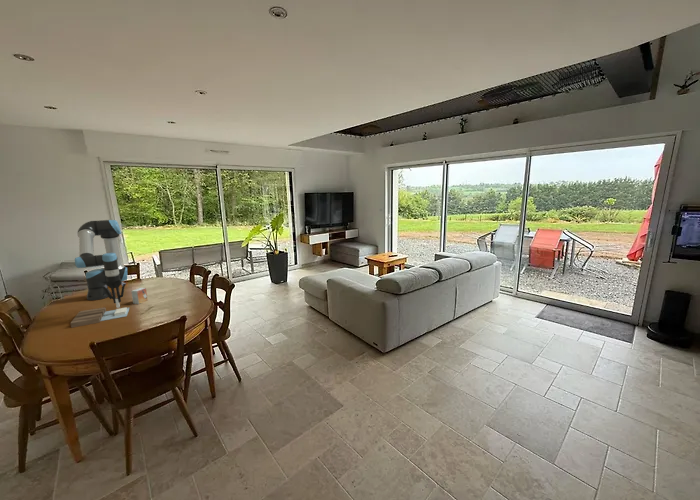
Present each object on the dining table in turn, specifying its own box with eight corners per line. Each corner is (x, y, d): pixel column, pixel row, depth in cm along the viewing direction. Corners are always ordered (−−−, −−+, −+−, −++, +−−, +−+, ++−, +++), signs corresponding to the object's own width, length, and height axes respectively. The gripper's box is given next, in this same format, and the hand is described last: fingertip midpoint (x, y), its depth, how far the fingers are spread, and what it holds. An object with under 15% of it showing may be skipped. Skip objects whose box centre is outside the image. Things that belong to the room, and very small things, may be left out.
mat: (105, 311, 205) (105, 311, 205) (129, 307, 212) (129, 307, 212) (100, 321, 190) (100, 320, 190) (126, 316, 197) (126, 315, 197)
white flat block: (126, 307, 207) (127, 309, 207) (116, 309, 204) (116, 311, 204) (125, 311, 200) (125, 314, 200) (114, 313, 196) (114, 316, 197)
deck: (80, 315, 199) (79, 311, 198) (106, 311, 206) (105, 307, 206) (71, 327, 181) (70, 323, 180) (99, 322, 188) (99, 318, 187)
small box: (138, 304, 219) (136, 291, 217) (133, 303, 220) (130, 290, 218) (148, 300, 227) (146, 287, 225) (142, 299, 228) (140, 287, 226)
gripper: (99, 278, 190) (105, 310, 195) (123, 275, 197) (129, 306, 201) (101, 275, 196) (107, 307, 201) (125, 272, 203) (130, 303, 208)
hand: (118, 306), depth 201 cm, fingers closed
